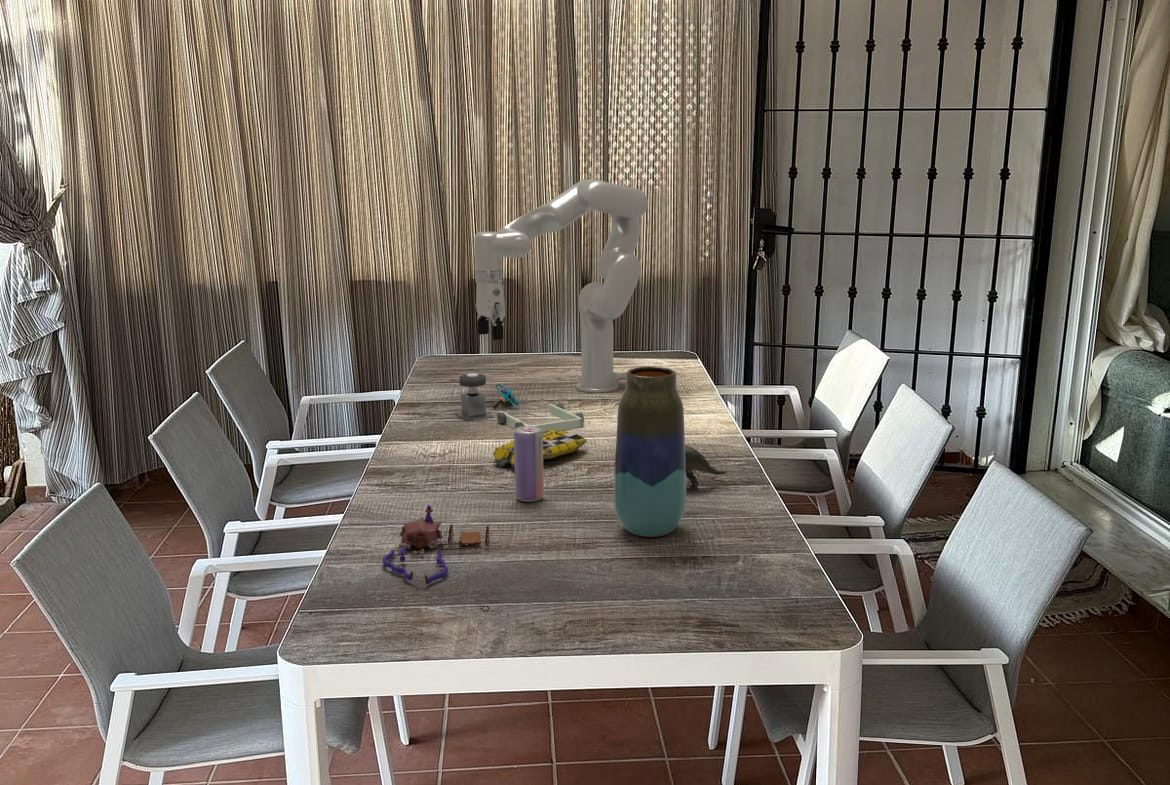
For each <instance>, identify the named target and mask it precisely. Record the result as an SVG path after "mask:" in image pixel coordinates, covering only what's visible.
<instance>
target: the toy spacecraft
mask: <svg viewBox="0 0 1170 785" xmlns="http://www.w3.org/2000/svg"><path fill="white" fill-rule="evenodd" d="M542 433H543V460H549V459H553V458H557V457H559V456H563V455H569V456H570V457H574V455H573V454H572V453H574V454H575V456H578V455H579V453H578V452H577V450H578V449H579V448H581V447H583V445H585V444H587V440H586V438H585V437H584V436H582V435H580V434H577V433H575V432H569V431H567V430H564V431H546V432H542ZM492 454H493V458H494V459H495V461H496V467H497V468H502V467H506V466H508V463H509V464H510V465H511V467H512V468H513V469H515V459H514V439H513V440H511V441H509V442H508V443H505V444H503V445H500V446H497V447H495V449H494V450H493V453H492Z"/></svg>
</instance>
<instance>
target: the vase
mask: <svg viewBox="0 0 1170 785" xmlns="http://www.w3.org/2000/svg"><path fill="white" fill-rule="evenodd" d="M625 373H626V379H625V389H624V390H623V393H622V396H621V398H620V399H619V402H618V405H617V406H618V408H617V422H616V438H615V456H614V474H613V505H614V512H615V514H616V515H615V516H616V517H617V519H618V521H619V522H620V525H622V527H623V528H624V529H625V530H626V531H627V532H628V533H630V534H632V535H635V536H638V537H645V538H646V537H647V538H655V537H662V536H665V535H668V534H670V533H672V532H673V531H674V530H675V529H676V528H677V527H678V525H679V524H680V523H681V521H682V519H683V517H684V514H685V510H686V504H687V477H686V461H685V445H686V439H685V438H686V437H685V435H686V434H685V413H684V412H685V411H684V402H683V400H682V398H681V395H680V394H679V392H678V389H677V372H676V371H675V370H674V369H671V368H668V367H661V366H660V367H659V366H642V367H641V366H639V367H633V368H631V369H628V370H626V372H625Z"/></svg>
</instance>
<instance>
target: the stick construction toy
mask: <svg viewBox="0 0 1170 785" xmlns="http://www.w3.org/2000/svg"><path fill="white" fill-rule="evenodd" d="M494 387H495V388H496V390H498V392H499V393H500V394H501V395H502V396H501V397H500V398H499V400H498V401H497V402H496V403H495V404H494V405H493V406H492V408H493V409H494V410H496V408H498V406H499V405H500V404H501V405H504V403H505V402H507V401H508V402H509V403H511V404H512V406H514V407H515V406H516V405H519V404H520V401H519V400H518V398H516V397H515V396H514V394H512V393H513V391H512V390H511V389H510V390H509V389H508V388H506V386H505V385H504V384H502V383H501V382H500V383H499V384H496V385H495V386H494ZM499 387H500V388H501V389H500V388H499ZM502 388H503V389H504V390H503V389H502Z"/></svg>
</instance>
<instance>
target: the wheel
mask: <svg viewBox="0 0 1170 785" xmlns="http://www.w3.org/2000/svg"><path fill="white" fill-rule="evenodd" d="M486 380H487V379H486V375H485V374H481V373H476V372H475V373H474V372H471V373H466V374H461V375H460V376H459V386H462V387H466V388H468V393H469V394H476V393H478V392H479V391H478V387H482V386H485V385H486V384H487V382H486Z"/></svg>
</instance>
